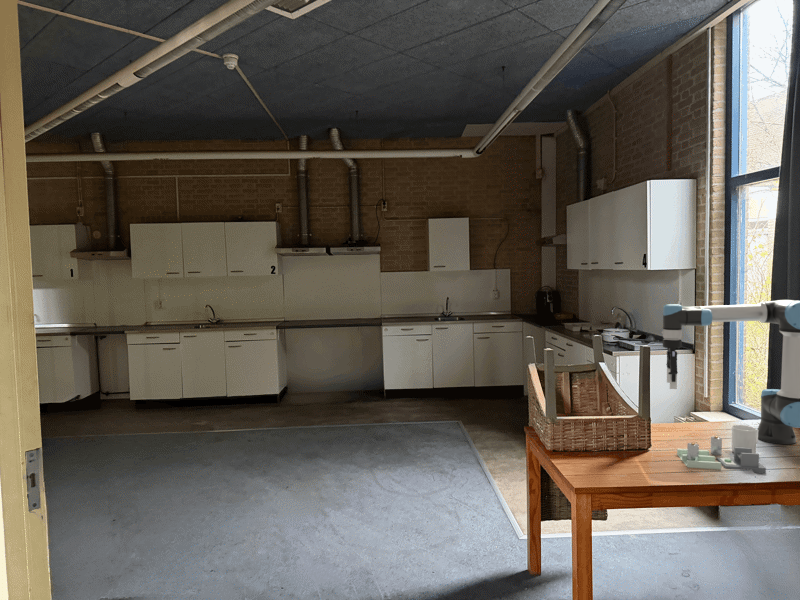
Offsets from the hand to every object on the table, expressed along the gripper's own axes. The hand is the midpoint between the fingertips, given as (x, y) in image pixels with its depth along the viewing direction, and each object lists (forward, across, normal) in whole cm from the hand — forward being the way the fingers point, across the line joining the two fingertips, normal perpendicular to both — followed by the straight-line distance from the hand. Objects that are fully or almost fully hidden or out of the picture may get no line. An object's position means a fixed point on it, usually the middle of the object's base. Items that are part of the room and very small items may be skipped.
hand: (671, 385), depth 244 cm
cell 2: (+27, +12, +16) cm, 33 cm away
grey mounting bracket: (+27, +23, +23) cm, 42 cm away
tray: (+27, +24, +8) cm, 37 cm away
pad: (+23, +23, +25) cm, 41 cm away
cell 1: (+26, +28, +5) cm, 38 cm away
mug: (+27, +3, +29) cm, 39 cm away
